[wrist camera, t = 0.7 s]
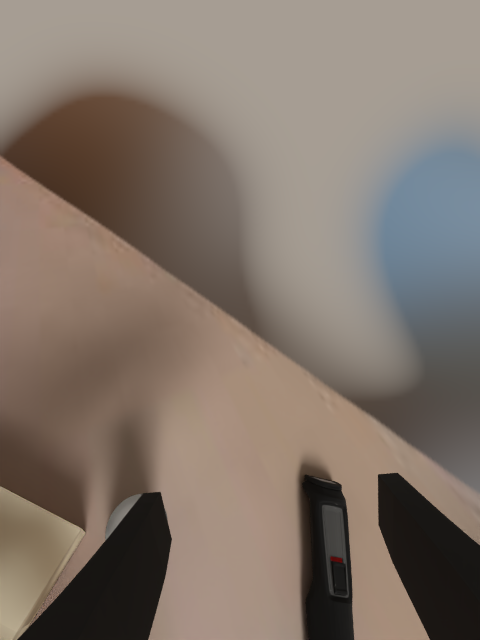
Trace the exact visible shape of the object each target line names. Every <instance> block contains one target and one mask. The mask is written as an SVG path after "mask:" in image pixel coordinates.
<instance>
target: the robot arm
mask: <svg viewBox="0 0 480 640" xmlns="http://www.w3.org/2000/svg"><path fill="white" fill-rule="evenodd" d="M378 514H379V527H380V530H381V533H382V535H383V538H384V541H385V543H386V546H387V549H388V551H389V554H390V556H391V559H392V562H393V564H394V566H395V568H396V570H397V572H398V574H399V577H400V579H401V581H402V583H403V585H404V587H405V589H406V591H407V593H408V595H409V597H410V599H411V601H412V603H413V605H414V607H415V610H416V612H417V614H418V616H419V618H420V620H421V622H422V624H423V626H424V628H425V630H426V632H427V634H428V636H429V638H430V640H480V545H479V544H477V543H476V542H475V541H474V540H473V539H471V538H470V537H469V536H468V535H467V534H466V533H464V532H463V531H462V530H461V529H460V528H459V527H457V526H456V525H455V524H454V523H453V522H452V521H450V520H449V519H448V518H447V517H446V516H445V515H444V514H442V513H441V512H440V511H439V510H438V509H437V508H436V507H435V506H434V505H432V504H431V503H430V502H429V501H428V500H427V499H426V498H425V497H424V496H422V495H421V494H420V493H419V492H418V491H417V490H416V489H415V488H414V487H413V486H412V485H410V484H409V483H408V482H407V481H406V480H405V479H404V478H403V477H402V476H401V475H399V474H398V473H390V474H378ZM171 540H172V538H171V534H170V530H169V526H168V521H167V517H166V513H165V509H164V505H163V500H162V496H161V492H154V493H143V494H142V495H141V496H140V498H139V499H138V500H137V501H136V503H135V504H134V505H133V507H132V508H131V509H130V510H129V512H128V513H127V514H126V515H125V517H124V518H123V519H122V521H121V522H120V523H119V524H118V526H117V527H116V528H115V529H114V531H113V532H112V533H111V535H110V536H109V537H108V538H107V539H106V541H105V542H104V543H103V544H102V546H101V547H100V548H99V549H98V551H97V552H96V553H95V554H94V555H93V557H92V558H91V559H90V560H89V561H88V563H87V564H86V565H85V566H84V567H83V569H82V570H81V571H80V572H79V573H78V574H77V575H76V577H75V578H74V579H73V580H72V581H71V582H70V583H69V585H68V586H67V587H66V588H65V589H64V590H63V591H62V593H61V594H60V595H59V596H58V597H57V598H56V599H55V600H54V601H53V603H52V604H51V605H50V606H49V607H48V608H47V609H46V610H45V611H44V612H43V613H42V614H41V615H40V616H39V618H38V619H37V620H36V621H35V622H34V623H33V624H32V625H31V626H30V627H29V628H28V629H27V630H26V631H25V632H24V633H23V634H22V635H21V636H20V637H19V638H18V639H17V640H148V638H149V635H150V631H151V628H152V624H153V620H154V617H155V613H156V609H157V606H158V602H159V598H160V595H161V591H162V587H163V583H164V580H165V575H166V570H167V564H168V559H169V553H170V547H171Z"/></svg>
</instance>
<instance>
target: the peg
mask: <svg viewBox="0 0 480 640" xmlns="http://www.w3.org/2000/svg"><path fill="white" fill-rule="evenodd" d="M141 495H142V494H137V495H133V496H131V497H128V498H127V499H125V500H124V501H122V502H121V503H120V504H119V505H118V506H117V507H116V508H115V510H114V511H113V513H112V514H111V516H110V518H109V521H108V524H107V527H106V535H105V538H106V539H107V538H108V537H109V536H110V535H111V533H112V532H113V531H114V529H115V528H116V527H117V526H118V524H119V523H120V522H121V521H122V519H123V518H124V517H125V515H126V514H127V513H128V512H129V510H130V509H131V508H132V507H133V505H134V504H135V503H136V501H137V500H138V499H139V498H140V496H141ZM164 509H165V508H164ZM165 513H166V511H165ZM166 517H167V514H166Z"/></svg>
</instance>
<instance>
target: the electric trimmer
mask: <svg viewBox="0 0 480 640" xmlns="http://www.w3.org/2000/svg"><path fill="white" fill-rule="evenodd" d="M305 480H307V481H304V482H303V483H302V485H303V488H304V490H305V491H306V493H307V495H308V497H309V499H310V519H311V544H312V569H313V580H312V584H311V587H310V590H309V593H308V595H307V598H306V614H307V626H308V635H309V640H354V630H353V614H352V575H351V560H350V545H349V530H348V515H347V507H346V500H345V498H344V496H343V494H342V491H341V490H342V486H341V484H339V483H337V482H335V481H330V480H326V479H321V478H317V477H313V476H309V475H305ZM325 487H326V488H325Z"/></svg>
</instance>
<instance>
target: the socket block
mask: <svg viewBox="0 0 480 640" xmlns="http://www.w3.org/2000/svg"><path fill="white" fill-rule="evenodd" d="M84 535H85V532H84V531H83V530H82V529H81V528H79V527H78V526H76V525H74V524H72V523H70V522H68V521H66V520H64V519H62V518H60V517H58V516H56V515H55V514H53V513H51V512H49V511H47V510H45V509H43V508H41V507H39V506H37V505H35V504H33V503H32V502H30V501H28V500H26V499H24V498H22V497H20V496H18V495H16V494H14V493H12V492H10V491H9V490H7V489H5V488H3V487H1V486H0V640H17V639H18V638H19V637H20V636H21V635H22V634H23V633H24V632H25V631H26V630H27V629H28V627H29V625H30V624H31V622H32V620H33V619H34V617H35V615H36V614H37V612H38V610H39V609H40V607H41V606H42V604H43V602H44V601H45V599H46V597H47V596H48V594H49V592H50V591H51V589H52V588H53V586H54V584H55V583H56V581H57V579H58V578H59V576H60V574H61V573H62V571H63V569H64V568H65V566H66V565H67V563H68V561H69V560H70V558H71V556H72V555H73V553H74V551H75V550H76V548H77V547H78V545H79V543H80V542H81V540H82V538H83V537H84Z"/></svg>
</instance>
